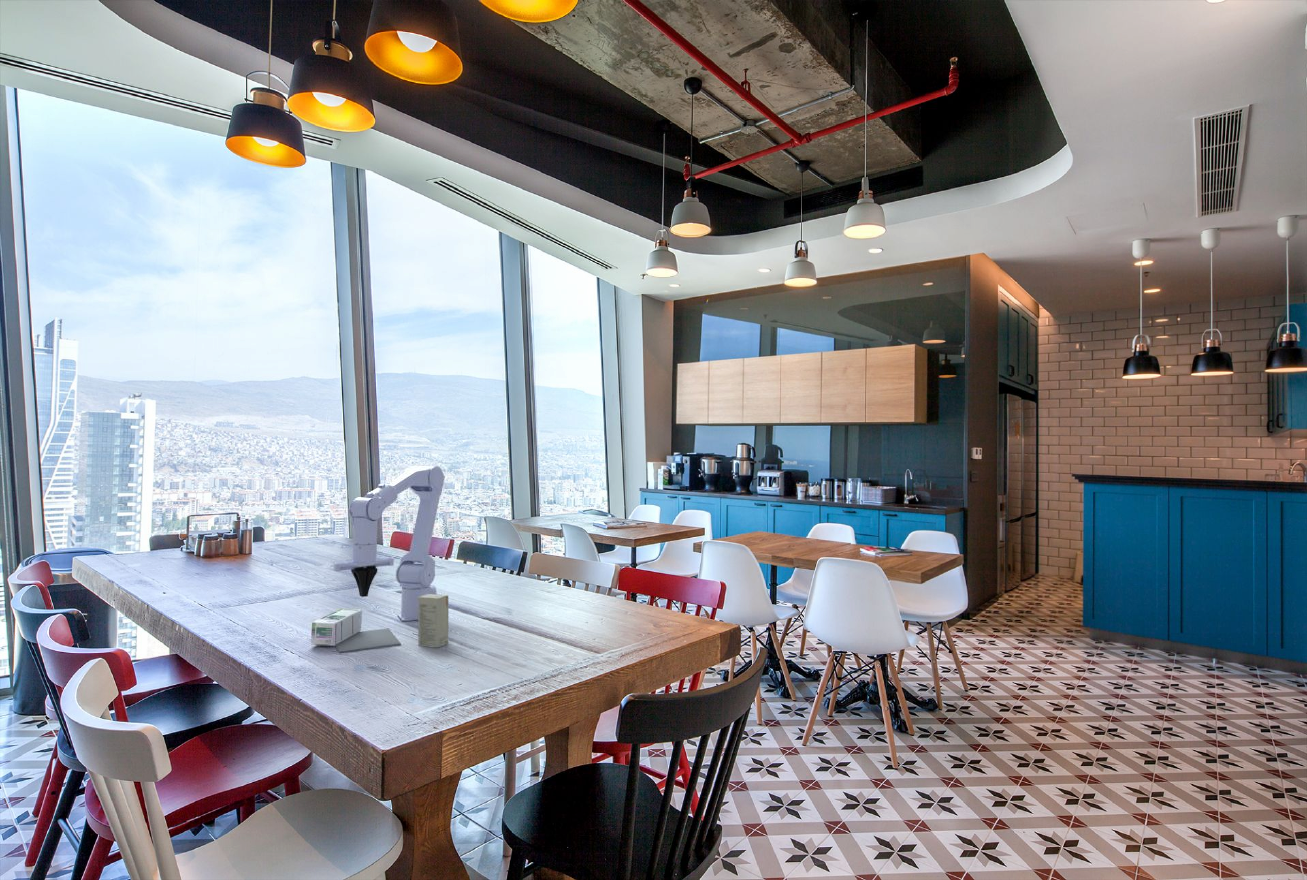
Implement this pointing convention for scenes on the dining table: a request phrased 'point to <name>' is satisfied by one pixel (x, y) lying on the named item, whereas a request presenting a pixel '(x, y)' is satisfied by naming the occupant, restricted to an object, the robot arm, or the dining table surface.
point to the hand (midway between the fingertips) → (363, 596)
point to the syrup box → (336, 627)
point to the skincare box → (433, 620)
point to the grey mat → (368, 640)
